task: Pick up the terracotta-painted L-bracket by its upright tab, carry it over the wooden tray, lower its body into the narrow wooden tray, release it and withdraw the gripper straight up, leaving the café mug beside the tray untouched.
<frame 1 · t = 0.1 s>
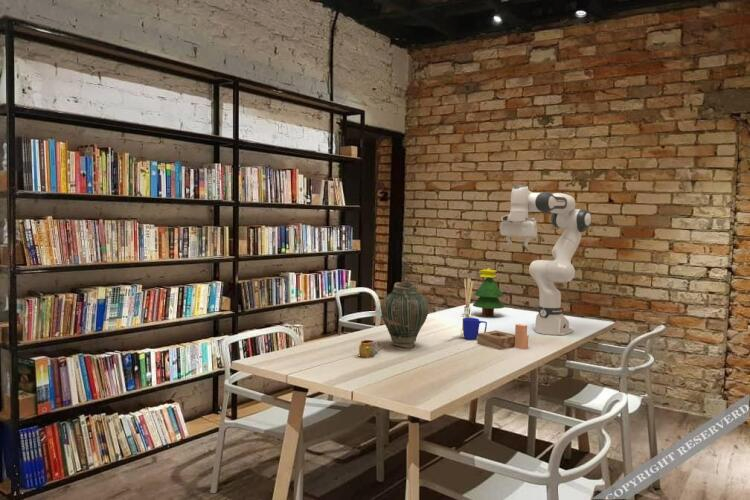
hand: (517, 245, 283), 48 cm above the table, fingers open, 8 cm apart
vase: (403, 346, 267), on the table
decorative tree: (487, 316, 351), on the table
mug: (474, 339, 285), on the table
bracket: (521, 347, 269), on the table
mug 2: (371, 355, 248), on the table
wooden tray: (497, 344, 274), on the table
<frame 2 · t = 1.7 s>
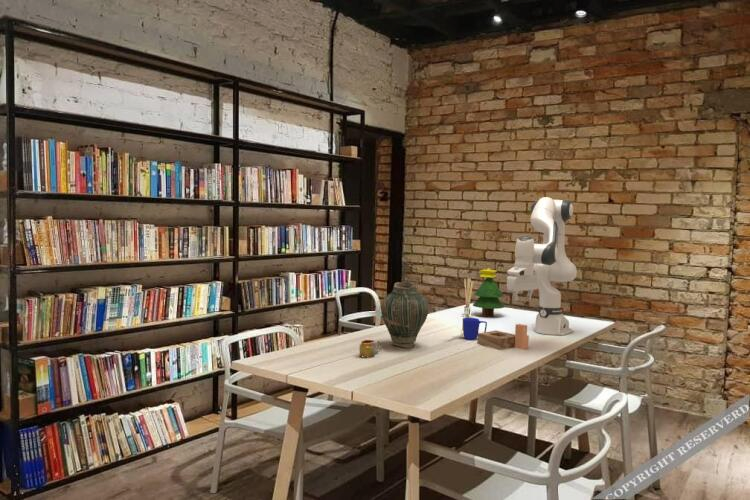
hand: (522, 299, 267), 23 cm above the table, fingers open, 8 cm apart
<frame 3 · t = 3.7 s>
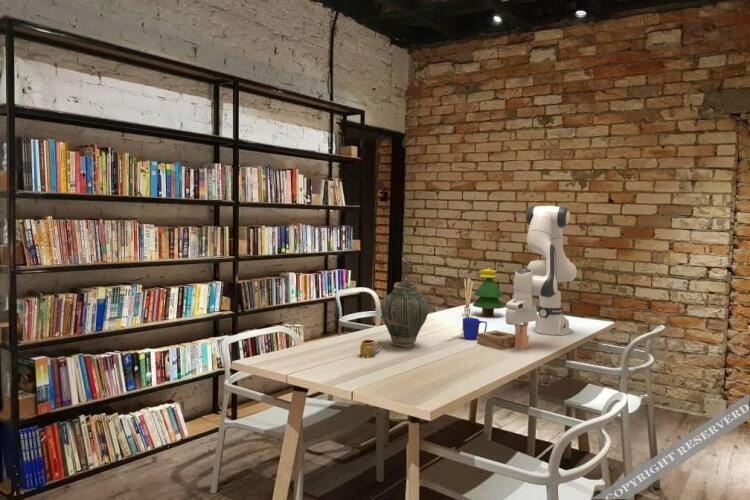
hand: (521, 332, 268), 8 cm above the table, fingers closed on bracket, 3 cm apart
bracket: (521, 347, 269), on the table, touching gripper
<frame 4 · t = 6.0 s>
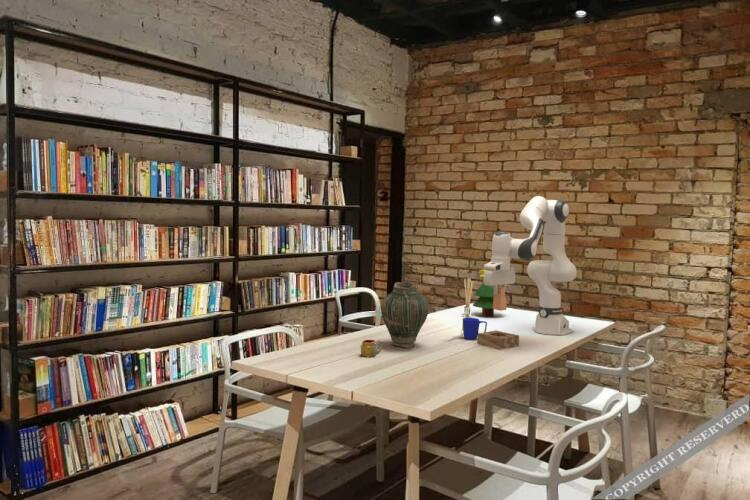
hand: (499, 293, 272), 25 cm above the table, fingers closed on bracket, 3 cm apart
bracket: (499, 309, 272), point 17 cm above the table, touching gripper
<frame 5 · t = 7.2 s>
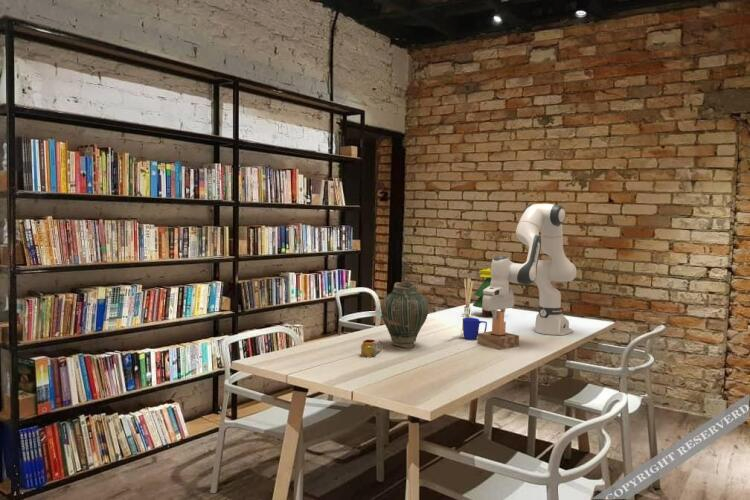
hand: (498, 318, 272), 13 cm above the table, fingers closed on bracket, 3 cm apart
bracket: (498, 333, 273), point 5 cm above the table, touching gripper
when the fingers open (9 cm above the table, at t = 8.3 s): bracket drops 1 cm, resting in wooden tray.
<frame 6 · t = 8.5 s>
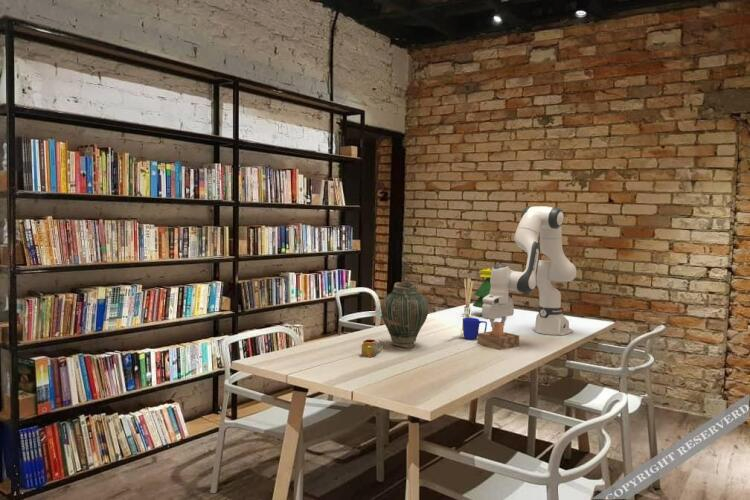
hand: (497, 326, 273), 9 cm above the table, fingers open, 5 cm apart
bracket: (498, 344, 274), resting in wooden tray
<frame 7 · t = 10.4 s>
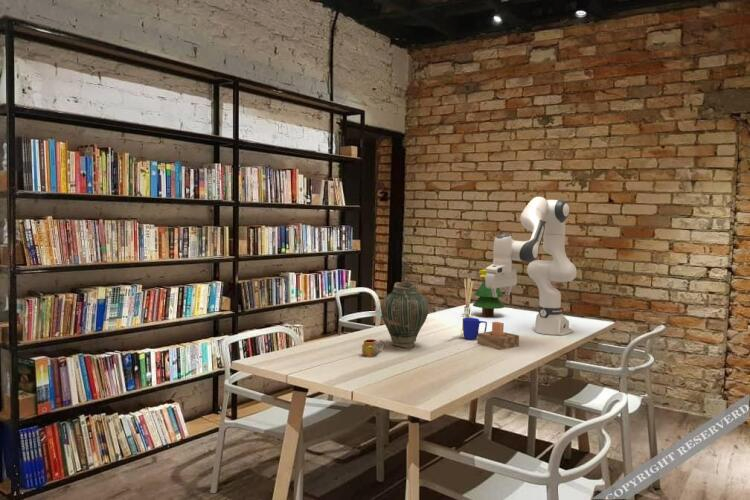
hand: (501, 296, 273), 24 cm above the table, fingers open, 8 cm apart
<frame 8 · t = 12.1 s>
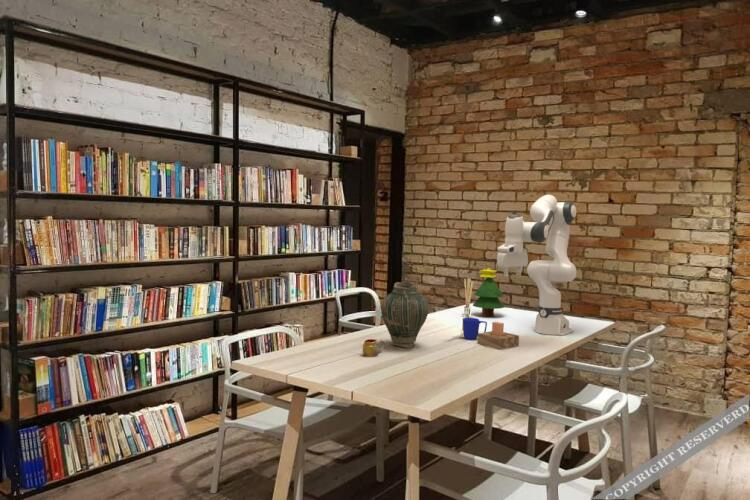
hand: (512, 276, 277), 33 cm above the table, fingers open, 8 cm apart
at the end: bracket 0.1 cm off-centre on the wooden tray, point 0.0 cm above the wooden tray's base; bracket tilted 0°; the gripper is holding nothing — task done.
